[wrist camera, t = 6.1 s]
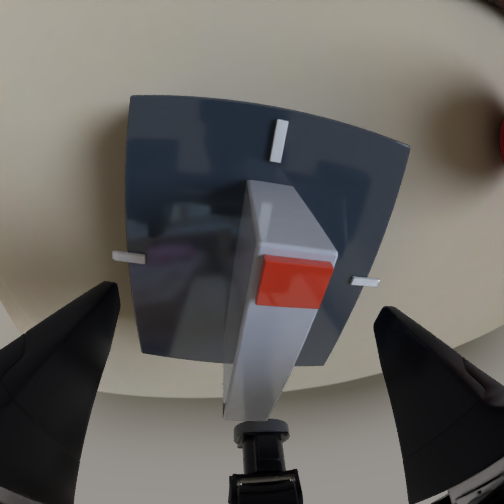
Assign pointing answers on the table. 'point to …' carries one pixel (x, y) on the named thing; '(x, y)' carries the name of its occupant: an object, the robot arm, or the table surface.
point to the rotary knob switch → (230, 209)
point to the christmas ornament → (502, 140)
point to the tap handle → (271, 297)
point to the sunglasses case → (498, 3)
